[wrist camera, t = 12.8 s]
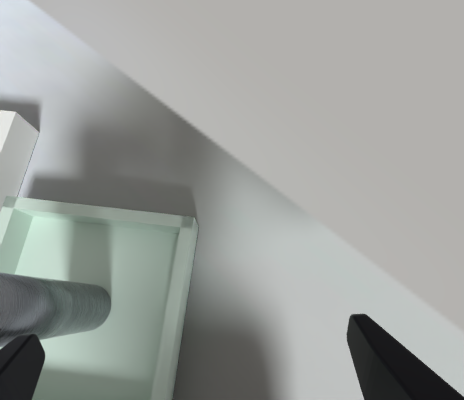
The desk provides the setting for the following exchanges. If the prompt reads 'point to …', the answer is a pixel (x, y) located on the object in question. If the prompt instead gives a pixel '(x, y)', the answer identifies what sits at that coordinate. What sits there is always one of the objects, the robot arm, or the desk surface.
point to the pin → (49, 307)
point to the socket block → (14, 152)
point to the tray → (117, 286)
